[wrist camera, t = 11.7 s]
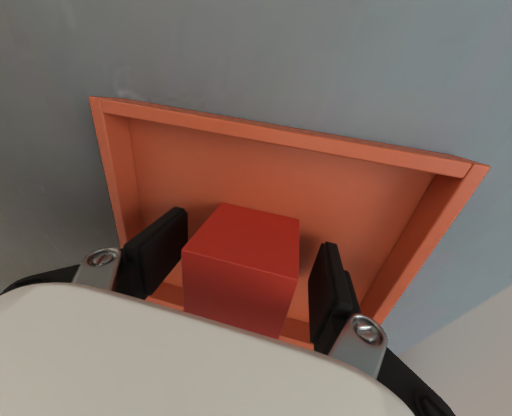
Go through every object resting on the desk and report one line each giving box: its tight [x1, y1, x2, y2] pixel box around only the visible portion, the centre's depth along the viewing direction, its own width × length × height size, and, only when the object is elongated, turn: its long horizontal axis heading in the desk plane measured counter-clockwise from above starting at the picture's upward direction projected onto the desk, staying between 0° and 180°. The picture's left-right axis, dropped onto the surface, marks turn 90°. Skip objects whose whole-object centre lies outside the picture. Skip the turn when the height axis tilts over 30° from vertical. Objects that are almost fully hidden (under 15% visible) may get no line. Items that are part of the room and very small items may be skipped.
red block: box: [181, 202, 300, 340], centre depth 10 cm, size 4×4×4 cm
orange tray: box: [89, 96, 490, 351], centre depth 12 cm, size 16×13×2 cm
